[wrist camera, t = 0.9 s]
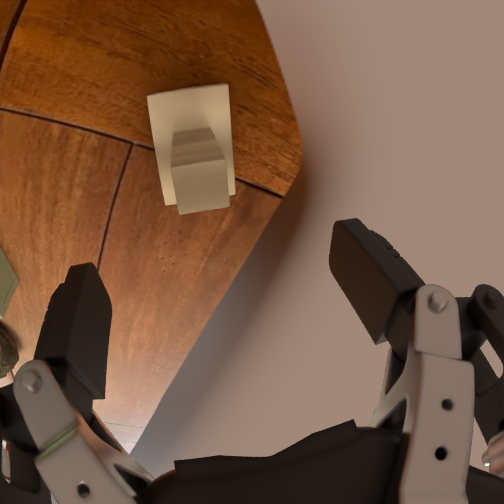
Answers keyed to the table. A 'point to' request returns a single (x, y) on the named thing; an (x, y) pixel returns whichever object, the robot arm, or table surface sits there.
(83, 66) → the table surface
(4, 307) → the bin
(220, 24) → the table surface
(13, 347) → the seashell
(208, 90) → the base with upright post
